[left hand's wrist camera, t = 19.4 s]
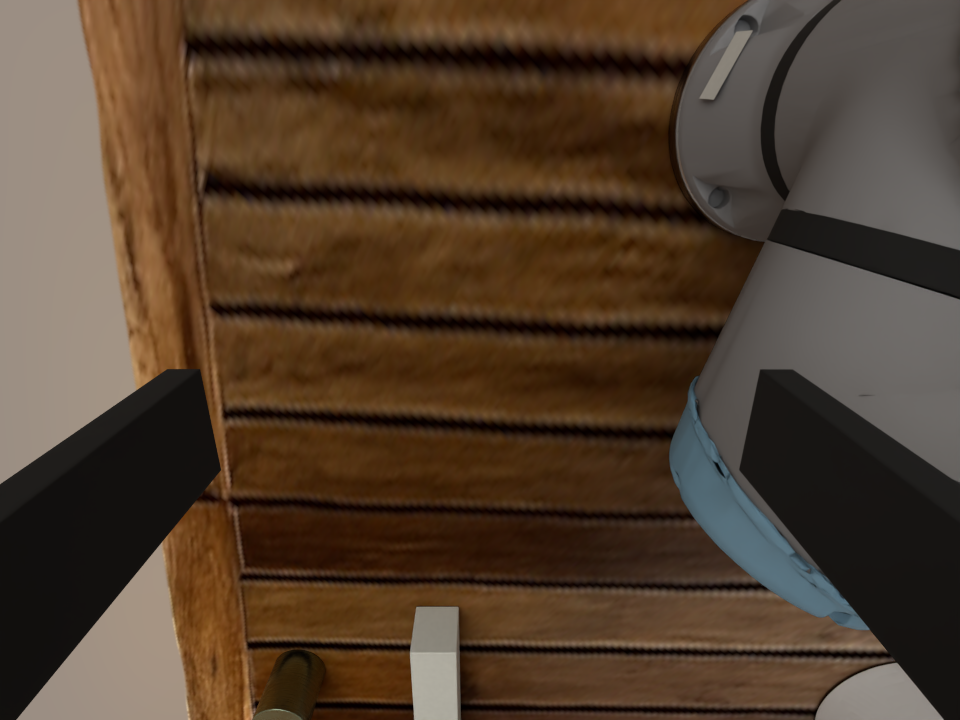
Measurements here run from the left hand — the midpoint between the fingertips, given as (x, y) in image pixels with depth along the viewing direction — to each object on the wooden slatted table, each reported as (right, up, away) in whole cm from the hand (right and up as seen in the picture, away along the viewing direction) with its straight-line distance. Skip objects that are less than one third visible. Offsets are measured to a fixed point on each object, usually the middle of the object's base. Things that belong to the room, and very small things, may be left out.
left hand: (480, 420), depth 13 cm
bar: (-4, -33, +42) cm, 53 cm away
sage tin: (-18, -29, +40) cm, 53 cm away
